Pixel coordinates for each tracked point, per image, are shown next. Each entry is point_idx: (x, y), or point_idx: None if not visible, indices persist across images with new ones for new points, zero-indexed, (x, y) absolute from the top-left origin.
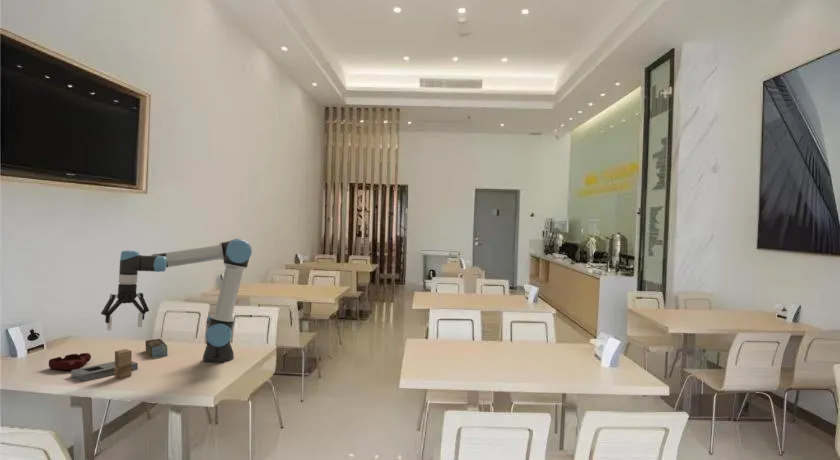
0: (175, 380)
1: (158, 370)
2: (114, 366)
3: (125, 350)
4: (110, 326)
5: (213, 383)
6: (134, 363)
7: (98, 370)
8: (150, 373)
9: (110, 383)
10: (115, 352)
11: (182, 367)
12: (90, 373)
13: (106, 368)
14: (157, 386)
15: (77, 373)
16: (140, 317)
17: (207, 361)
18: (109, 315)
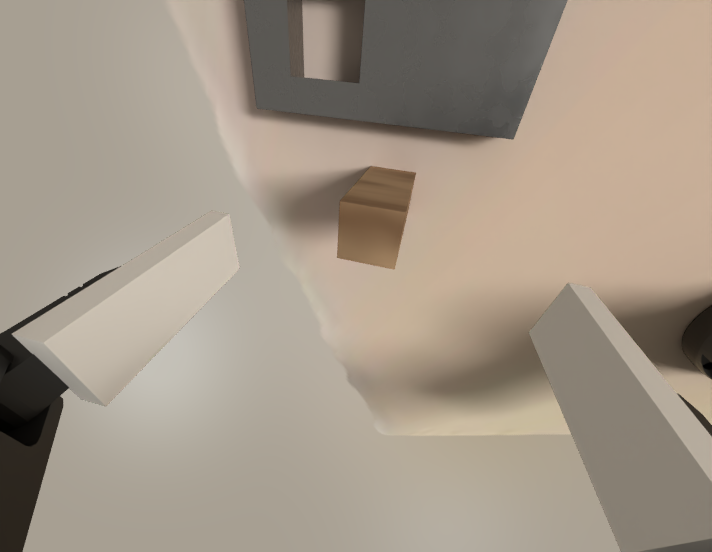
0: (433, 351)
1: (514, 239)
2: (410, 88)
3: (382, 237)
4: (207, 291)
5: (448, 417)
6: (499, 130)
7: (326, 94)
8: (465, 245)
9: (323, 225)
10: (340, 206)
11: None
12: (287, 111)
13: (366, 91)
14: (376, 345)
15: (250, 36)
16: (593, 454)
17: (692, 328)
18: (51, 411)
